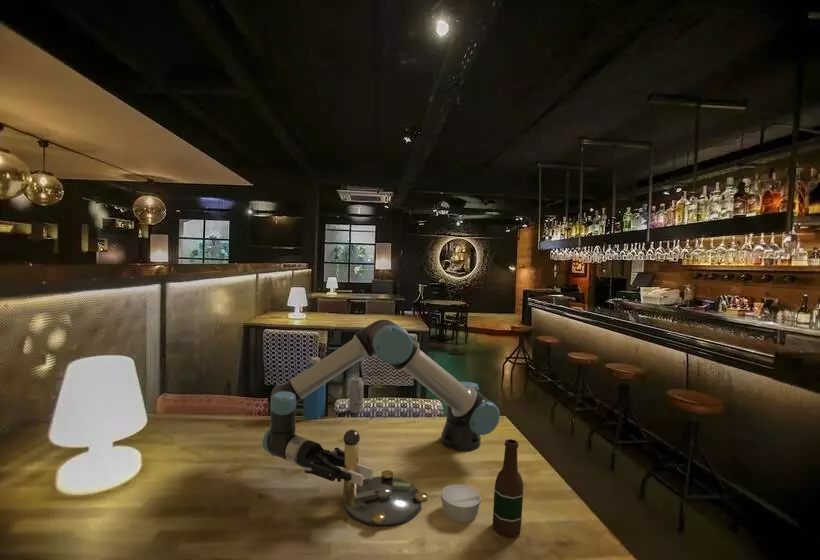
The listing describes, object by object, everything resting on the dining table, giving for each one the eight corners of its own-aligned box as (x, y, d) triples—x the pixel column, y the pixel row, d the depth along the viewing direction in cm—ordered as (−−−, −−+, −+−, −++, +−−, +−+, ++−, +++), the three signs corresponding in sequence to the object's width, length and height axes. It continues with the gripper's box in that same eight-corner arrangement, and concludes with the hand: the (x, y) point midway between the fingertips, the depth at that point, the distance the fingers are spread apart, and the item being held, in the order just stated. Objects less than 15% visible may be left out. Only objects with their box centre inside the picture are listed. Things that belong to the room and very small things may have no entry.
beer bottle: (488, 520, 120) (493, 434, 118) (516, 519, 121) (521, 435, 119) (496, 539, 112) (501, 447, 111) (526, 538, 113) (531, 447, 111)
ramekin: (469, 530, 115) (470, 511, 115) (432, 515, 121) (433, 497, 121) (486, 510, 125) (487, 492, 125) (451, 497, 131) (451, 480, 130)
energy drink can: (356, 415, 192) (357, 381, 191) (346, 411, 195) (347, 378, 194) (365, 411, 197) (366, 378, 196) (355, 408, 200) (356, 375, 199)
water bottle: (329, 413, 193) (330, 357, 191) (317, 420, 184) (319, 362, 182) (310, 410, 196) (311, 354, 194) (298, 417, 187) (299, 359, 185)
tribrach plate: (427, 482, 138) (428, 472, 138) (426, 535, 113) (427, 523, 113) (352, 477, 140) (353, 468, 139) (334, 528, 114) (335, 516, 114)
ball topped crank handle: (387, 489, 129) (390, 420, 128) (394, 498, 125) (397, 427, 124) (339, 500, 123) (341, 428, 122) (344, 510, 118) (347, 435, 117)
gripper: (324, 454, 138) (384, 477, 125) (282, 476, 124) (346, 505, 111) (324, 431, 137) (385, 452, 125) (283, 450, 123) (346, 476, 111)
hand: (366, 477), depth 118 cm, fingers open, 4 cm apart
